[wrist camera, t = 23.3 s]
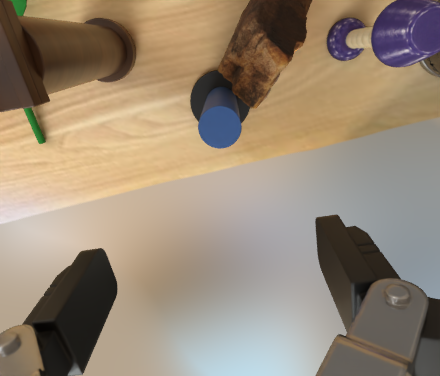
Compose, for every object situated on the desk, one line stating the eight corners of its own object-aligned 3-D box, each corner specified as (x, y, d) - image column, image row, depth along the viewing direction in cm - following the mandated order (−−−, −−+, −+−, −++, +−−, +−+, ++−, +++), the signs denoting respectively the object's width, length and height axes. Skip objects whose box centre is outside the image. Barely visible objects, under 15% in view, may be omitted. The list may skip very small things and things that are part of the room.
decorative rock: (252, 99, 39) (262, 119, 29) (208, 70, 37) (202, 81, 27) (317, -1, 34) (355, -17, 24) (270, -37, 33) (289, -70, 23)
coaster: (216, 56, 37) (216, 56, 36) (262, 97, 38) (263, 98, 38) (178, 105, 39) (178, 105, 39) (224, 142, 41) (224, 143, 40)
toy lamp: (314, 43, 36) (379, 45, 21) (342, 2, 34) (436, -30, 19) (348, 68, 37) (434, 87, 22) (377, 29, 35) (492, 20, 20)
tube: (209, 120, 39) (203, 89, 38) (239, 115, 39) (234, 84, 38) (202, 151, 28) (194, 110, 27) (244, 144, 28) (237, 102, 27)
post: (69, 25, 36) (-109, 7, 17) (126, 13, 35) (9, -20, 16) (89, 85, 38) (-45, 130, 19) (142, 75, 38) (58, 110, 19)
